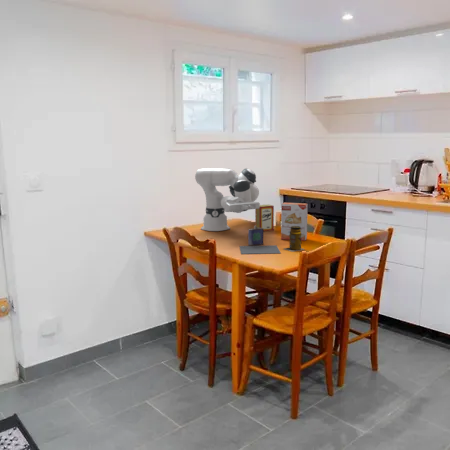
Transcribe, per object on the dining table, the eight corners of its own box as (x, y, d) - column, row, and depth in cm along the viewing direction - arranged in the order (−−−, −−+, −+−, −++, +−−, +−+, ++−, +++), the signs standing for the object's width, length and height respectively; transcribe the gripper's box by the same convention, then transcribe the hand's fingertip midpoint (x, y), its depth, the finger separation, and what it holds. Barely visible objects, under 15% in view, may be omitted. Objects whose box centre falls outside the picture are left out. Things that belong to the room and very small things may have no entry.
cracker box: (280, 239, 271) (281, 203, 267) (283, 237, 276) (283, 202, 272) (305, 241, 266) (305, 204, 262) (307, 239, 271) (307, 203, 268)
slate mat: (239, 246, 255) (239, 245, 255) (276, 245, 256) (276, 245, 256) (241, 254, 239) (241, 253, 238) (280, 253, 239) (280, 252, 239)
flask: (249, 246, 255) (249, 226, 253) (247, 245, 257) (246, 225, 256) (264, 244, 259) (264, 225, 257) (261, 243, 261) (261, 224, 260)
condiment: (304, 249, 247) (305, 227, 244) (292, 251, 242) (292, 228, 240) (295, 247, 253) (295, 224, 250) (283, 249, 248) (283, 226, 246)
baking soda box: (260, 231, 295) (260, 206, 292) (255, 229, 301) (255, 204, 298) (273, 230, 298) (273, 205, 295) (268, 228, 304) (268, 203, 301)
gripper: (252, 209, 282) (265, 211, 270) (222, 211, 272) (233, 214, 260) (252, 198, 281) (265, 200, 269) (222, 201, 271) (233, 203, 259)
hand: (249, 207), depth 264 cm, fingers closed
